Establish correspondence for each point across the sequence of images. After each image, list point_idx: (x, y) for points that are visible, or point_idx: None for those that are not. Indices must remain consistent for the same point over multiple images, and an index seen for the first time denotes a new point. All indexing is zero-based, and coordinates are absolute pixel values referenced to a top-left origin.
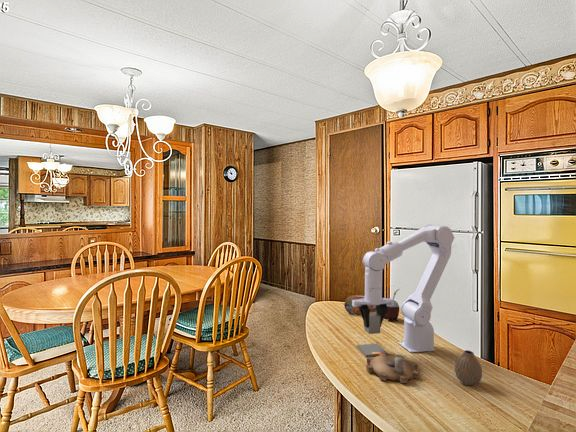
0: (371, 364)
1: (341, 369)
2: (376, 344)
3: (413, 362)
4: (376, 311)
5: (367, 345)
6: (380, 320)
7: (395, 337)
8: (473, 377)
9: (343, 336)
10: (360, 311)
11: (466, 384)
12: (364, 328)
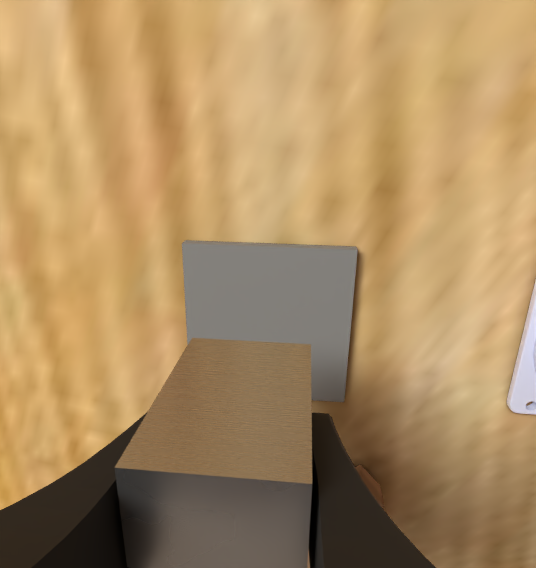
0: None
1: (23, 468)
2: (337, 265)
3: None
4: (319, 528)
5: (259, 267)
6: (309, 550)
7: None
8: None
9: (141, 3)
10: (12, 516)
11: None
12: (188, 349)
